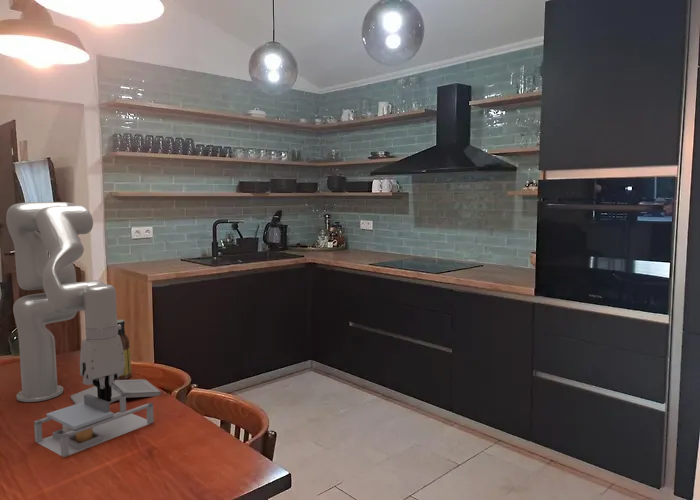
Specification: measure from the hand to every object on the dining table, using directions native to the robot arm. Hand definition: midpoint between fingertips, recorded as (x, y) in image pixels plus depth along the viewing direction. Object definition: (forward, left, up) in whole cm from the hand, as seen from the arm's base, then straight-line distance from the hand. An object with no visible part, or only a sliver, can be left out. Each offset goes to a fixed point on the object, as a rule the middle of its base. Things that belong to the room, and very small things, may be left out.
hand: (105, 401), depth 141 cm
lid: (0, -7, -2) cm, 7 cm away
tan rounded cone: (+3, -8, -7) cm, 11 cm away
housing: (0, -3, -8) cm, 9 cm away
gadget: (-21, +15, -9) cm, 27 cm away
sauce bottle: (-35, +26, -8) cm, 45 cm away
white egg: (-3, -8, -7) cm, 11 cm away
